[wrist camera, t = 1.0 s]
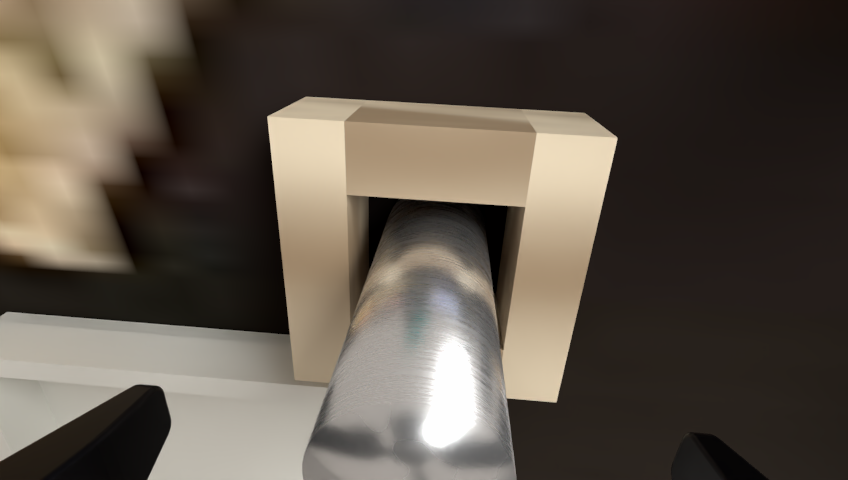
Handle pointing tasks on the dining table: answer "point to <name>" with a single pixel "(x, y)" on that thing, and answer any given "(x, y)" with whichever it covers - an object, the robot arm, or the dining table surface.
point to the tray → (181, 382)
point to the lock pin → (419, 360)
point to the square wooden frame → (450, 182)
